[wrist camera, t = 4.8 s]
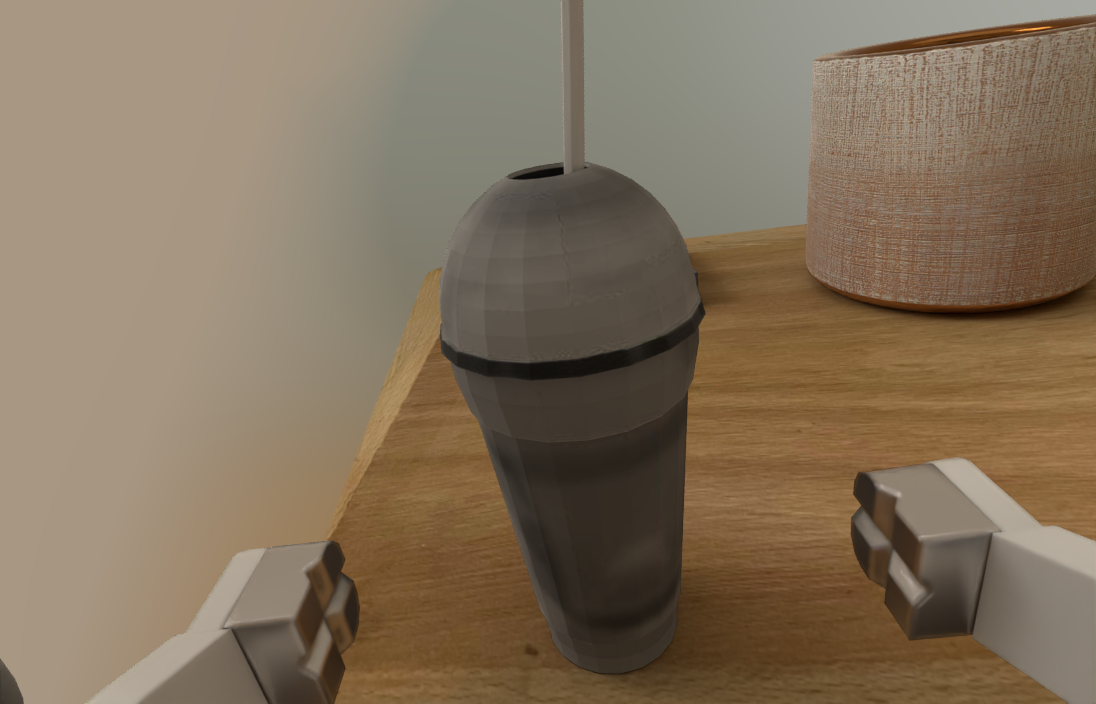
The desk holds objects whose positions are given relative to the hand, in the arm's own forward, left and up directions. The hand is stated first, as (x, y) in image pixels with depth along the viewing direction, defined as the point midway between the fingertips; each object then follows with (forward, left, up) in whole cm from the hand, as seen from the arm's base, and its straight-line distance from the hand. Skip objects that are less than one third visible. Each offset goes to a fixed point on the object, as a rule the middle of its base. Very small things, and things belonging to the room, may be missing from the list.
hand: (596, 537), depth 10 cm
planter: (+27, +35, -11) cm, 46 cm away
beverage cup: (0, +8, -11) cm, 14 cm away
